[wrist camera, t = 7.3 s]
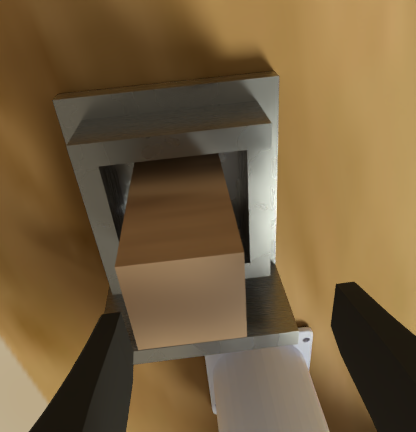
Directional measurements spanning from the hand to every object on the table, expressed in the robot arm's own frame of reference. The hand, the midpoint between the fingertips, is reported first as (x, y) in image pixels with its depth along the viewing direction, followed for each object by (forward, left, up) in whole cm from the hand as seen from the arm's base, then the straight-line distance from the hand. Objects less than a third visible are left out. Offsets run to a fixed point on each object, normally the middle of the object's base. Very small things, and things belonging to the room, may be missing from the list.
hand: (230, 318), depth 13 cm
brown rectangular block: (+1, +1, -8) cm, 8 cm away
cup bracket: (+1, +1, -9) cm, 9 cm away
